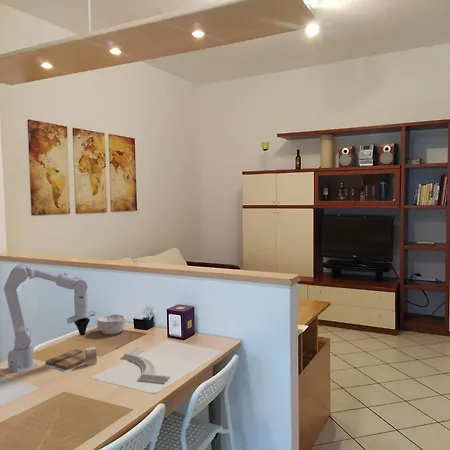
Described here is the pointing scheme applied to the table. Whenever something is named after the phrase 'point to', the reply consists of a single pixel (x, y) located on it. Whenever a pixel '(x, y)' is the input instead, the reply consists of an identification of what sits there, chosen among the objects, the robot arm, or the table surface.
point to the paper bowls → (111, 323)
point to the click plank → (72, 361)
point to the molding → (145, 367)
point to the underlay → (64, 369)
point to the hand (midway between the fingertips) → (82, 334)
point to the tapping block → (91, 356)
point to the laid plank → (62, 357)
